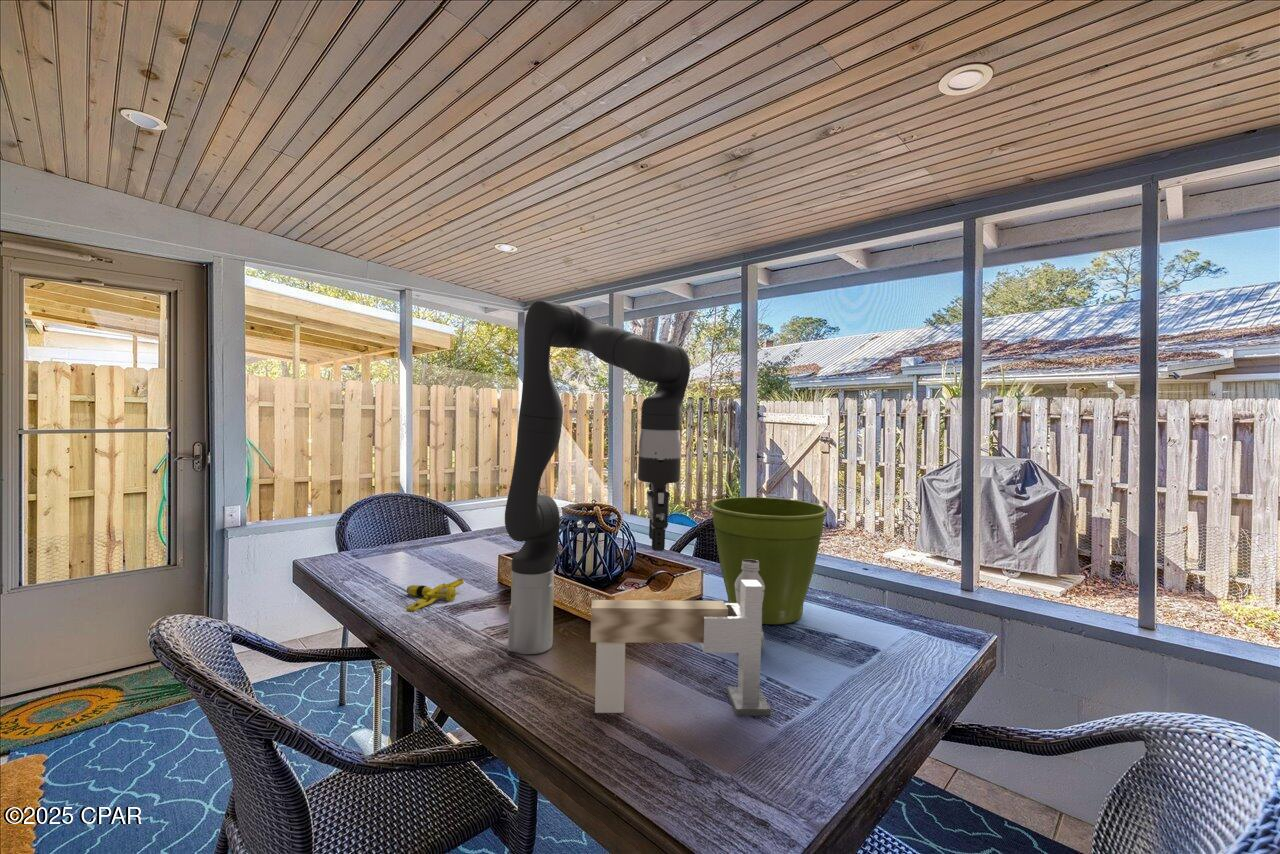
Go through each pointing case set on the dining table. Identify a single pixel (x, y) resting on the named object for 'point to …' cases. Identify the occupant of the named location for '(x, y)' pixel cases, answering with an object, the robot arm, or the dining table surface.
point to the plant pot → (770, 549)
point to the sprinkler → (432, 593)
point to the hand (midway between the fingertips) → (656, 544)
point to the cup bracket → (741, 647)
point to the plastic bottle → (750, 573)
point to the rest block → (610, 677)
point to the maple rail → (651, 620)
